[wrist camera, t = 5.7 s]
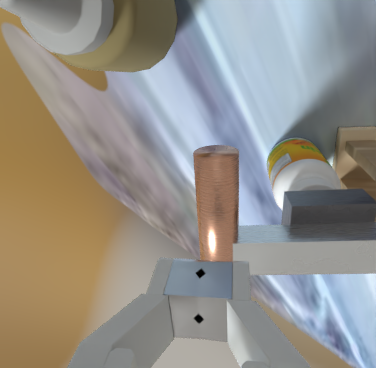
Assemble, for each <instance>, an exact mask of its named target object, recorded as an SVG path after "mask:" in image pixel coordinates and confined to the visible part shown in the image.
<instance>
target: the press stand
mask: <svg viewBox="0 0 376 368" xmlns="http://www.w3.org/2000/svg"><path fill="white" fill-rule="evenodd" d="M332 168H333V169H334V170H335V172H336V173H337V175H338V177H339V179H340V184H341V189H363V190H365V191H366V192H367V193H368V194H369V195H370V196H371V197H372V198H373V199H374V200H375V201H376V126H367V127H338V133H337V140H336V146H335V153H334V159H333V166H332ZM374 222H376V217H375V221H374Z"/></svg>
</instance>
